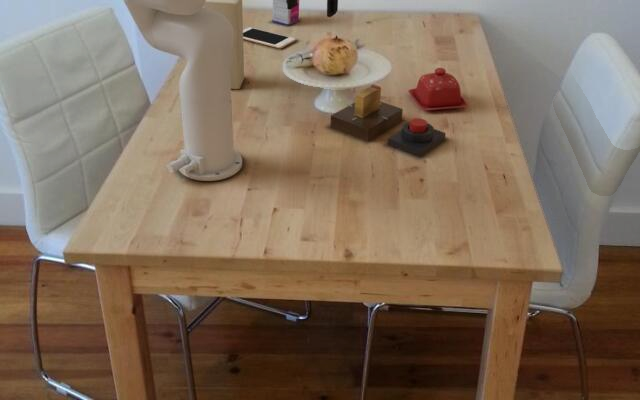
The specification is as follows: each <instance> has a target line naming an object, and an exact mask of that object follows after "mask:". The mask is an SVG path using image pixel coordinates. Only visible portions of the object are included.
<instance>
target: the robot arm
mask: <svg viewBox="0 0 640 400" xmlns="http://www.w3.org/2000/svg"><path fill="white" fill-rule="evenodd" d="M122 1H123V4H124V5H125V6H126V8H127V11H128V12H129V14H130V16H131V18H132V20H133V21H134V23H135V25H136V27H137V29H138V31H139V33H140V34H141V36H142V37H143V39H144V40H145V41H146V43H147V44H148V45H149V46H150V47H152V48H153V49H154V50H157V51H161V52H163V53H167V54H169V55H173V56H177V57H179V58H182V59H184V60H185V62H186V65H185V67H184V69H183V70H182V72H181V75H180V77H179V81H178V92H179V100H180V113H181V125H182V135H183V146H184V147H183V148H182V149H180V151H179V152H180V156H178V158H177V159H176V160H173V161H171V162H169V163H167V164H166V166H165V167H166V171H167V172H168V173H169V174H173V173H175V172H178V171H179V172H180V173H181V174H182V175H183V176H185V177H186V178H189V179H191V180H195V181H200V182H215V181H221V180H224V179H227V178H231V177H232V176H234V175H236V174H237V173H238V172H239V171H240V170H241V169H242V167H243V157H242V155H241V153H239V152H238V151H237V150H235V149H234V148H235V147H234V129H233V125H234V124H233V107H232V106H233V105H232V89H231V82H230V67H231V56H232V50H233V44H234V30H233V27H232V25H231V23H230V21H229V20H228V19H227V18H226V17H225V16H224V15H222V14H220V13H218V12H216V11H214V10H211V9H207V8H203V6H204V4H205V2H206V0H122ZM286 3H287V9H289V10H290V9H292V8H294V7H296V6H297V0H286ZM338 9H339V0H326V17H327V18H332V17H334V16H335V15H336V14H337V12H338Z"/></svg>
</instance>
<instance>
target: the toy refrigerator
mask: <svg viewBox="0 0 640 400" xmlns="http://www.w3.org/2000/svg"><path fill="white" fill-rule="evenodd" d="M203 8H207V9H211V10H214V11H216V12H218V13H220V14H222V15H224V16H225V17H226V18H227V19H228V20H229V21H230V23H231V25H232V27H233V30H234V44H233V50H232V56H231V67H230V82H231V90H240V89H241V86H242V84H243V83H244V80H245V60H244V59H245V58H244V55H245V54H244V39H243V30H244V22H243V21H244V17H243V0H206V2H205V4H204V6H203Z"/></svg>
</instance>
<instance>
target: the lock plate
mask: <svg viewBox="0 0 640 400" xmlns="http://www.w3.org/2000/svg"><path fill="white" fill-rule="evenodd" d="M403 111H404V110H403V108H402V107H398V106H395V105H392V104H389V103H386V102H384V101H382V100H380V108H379V109H378V110H376V111H374V112H373V113H371V114H369V115H367V116H366V117H364V118H360V117H358V116H355V115H354V114H355V102H353V103H351V104H346V107H343V108H342V109H340V110H338V111H336V112H335V113H333V114H331V115H330V129H333V130H336V131H338V132H341V133H343V134H346V135H349V136H351V137H353V138H356V139H358V140H359V139H360V140H362V141H364V142H367V143H368V142H370V141H372V140H374V139H375V138H376V137H378V136H380V135H382V134H383V133H385V132H386V131H388V130H389V129H391V128H393V127H394V126H396V125H397V124H399V123H401V122H402V120H403V119H402V118H403Z"/></svg>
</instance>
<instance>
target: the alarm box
mask: <svg viewBox="0 0 640 400" xmlns="http://www.w3.org/2000/svg"><path fill="white" fill-rule="evenodd" d="M409 125H410V121H406V122H405V123H403V124H402V127H401V129H400V130H399V131H397V132H396V133H394V134H392V135H391V136H390V137H388V138H387V146H389V147H391V148H395V149H396V150H399V151H402V152H405V153H408V154H410V155H412V156H415V157H418V158H421V157H423V156H425V154H427V153H429V152H430V151H432V150H433V149H434V148H436V147H438V145H440V144H441V143H443V142H444V141H445V140H446V133H447V132H444V131H441V130H438V129H436V128H434V126H432V124H431V123H428V122H427V129H426V132H421V133H417V132H413V131H410V130H409Z"/></svg>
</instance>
